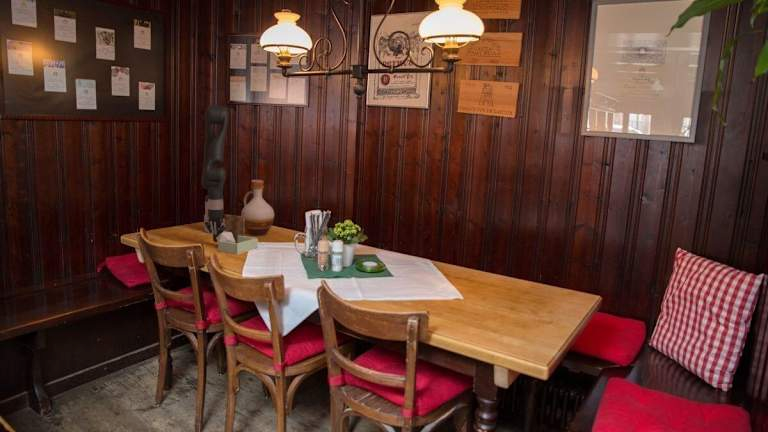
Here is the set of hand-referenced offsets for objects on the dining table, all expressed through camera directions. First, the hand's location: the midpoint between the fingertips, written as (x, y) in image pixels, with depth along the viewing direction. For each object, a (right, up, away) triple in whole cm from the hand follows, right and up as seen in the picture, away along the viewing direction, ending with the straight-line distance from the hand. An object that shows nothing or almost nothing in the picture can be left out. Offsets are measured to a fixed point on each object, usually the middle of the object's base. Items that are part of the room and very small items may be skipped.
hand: (216, 241), depth 288 cm
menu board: (+7, -1, +9) cm, 11 cm away
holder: (+12, -4, -6) cm, 14 cm away
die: (+5, -3, -2) cm, 7 cm away
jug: (+14, +3, +30) cm, 33 cm away
